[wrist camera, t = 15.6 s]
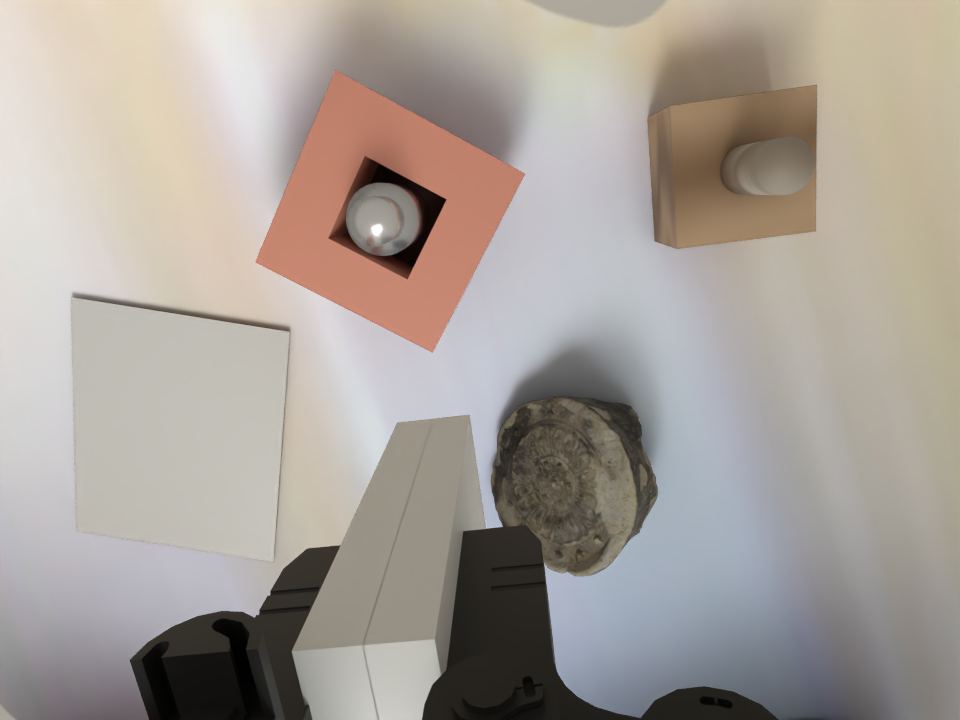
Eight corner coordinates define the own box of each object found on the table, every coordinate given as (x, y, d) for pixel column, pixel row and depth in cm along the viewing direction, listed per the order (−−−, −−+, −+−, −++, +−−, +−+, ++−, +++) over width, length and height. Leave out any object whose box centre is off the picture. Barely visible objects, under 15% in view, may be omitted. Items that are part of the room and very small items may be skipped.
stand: (775, 225, 37) (868, 238, 27) (654, 241, 37) (705, 258, 28) (773, 99, 35) (873, 65, 26) (647, 117, 35) (699, 90, 26)
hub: (472, 264, 38) (461, 289, 28) (360, 279, 39) (312, 308, 29) (456, 144, 36) (438, 128, 27) (339, 161, 37) (279, 150, 27)
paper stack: (-50, 505, 44) (-58, 510, 44) (-80, 136, 38) (-91, 135, 37) (276, 556, 44) (273, 562, 44) (302, 196, 38) (299, 196, 37)
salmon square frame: (440, 335, 36) (432, 352, 32) (282, 254, 35) (255, 262, 31) (522, 175, 34) (525, 173, 30) (355, 84, 33) (335, 69, 29)
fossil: (470, 394, 40) (555, 432, 31) (589, 361, 43) (695, 387, 34) (495, 548, 42) (580, 624, 33) (605, 504, 46) (709, 563, 37)
